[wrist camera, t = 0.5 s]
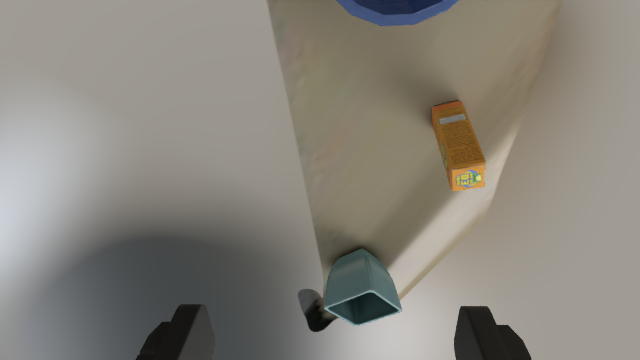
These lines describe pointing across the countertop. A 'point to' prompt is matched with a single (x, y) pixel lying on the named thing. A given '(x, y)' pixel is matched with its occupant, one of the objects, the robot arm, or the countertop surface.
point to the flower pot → (360, 289)
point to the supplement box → (458, 146)
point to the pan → (396, 10)
